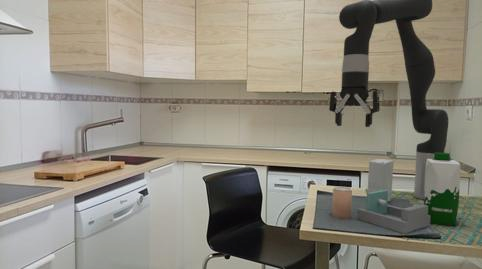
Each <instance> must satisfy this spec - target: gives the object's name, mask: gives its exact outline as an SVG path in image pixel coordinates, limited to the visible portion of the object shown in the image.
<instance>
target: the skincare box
mask: <svg viewBox="0 0 482 269" xmlns="http://www.w3.org/2000/svg"><path fill="white" fill-rule="evenodd" d="M394 162H395V161H394V160H392V159H383V158H376V159H372V160H370V161H368V176H367V177H368V178H367V190H366V191H367V192H366V194H367V193H370V192H375V191H381V190H388V201H387V203H389V202H390V201H391V200H392V193H393V192H392V189H393V178H394V177H393V175H394Z"/></svg>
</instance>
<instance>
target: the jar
mask: <svg viewBox="0 0 482 269" xmlns="http://www.w3.org/2000/svg"><path fill="white" fill-rule="evenodd" d="M352 199H353V190H352V189H351V187H347V186H334V188H333V189H332V202H331V203H332V206H331V216H332V217H333V218H336V219H343V220H347V219H351V218H352V206H353V205H352V204H353V203H352V202H353V201H352Z"/></svg>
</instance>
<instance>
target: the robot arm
mask: <svg viewBox="0 0 482 269" xmlns="http://www.w3.org/2000/svg"><path fill="white" fill-rule="evenodd" d="M432 10H433V0H362V1H358V2H353V3H349V4H347V5H345V6H344V7H342V9H341V10H340V12H339V16H338V20H339V23H340V24H341V26H342V27H343V28H344V29H347V30H352V29H355V31H354V32H353V33H352V34H350V35H348V36H347V37H346V38H345V39H344V42H343V43H344V44H343V59H342V66H341V67H342V68H341V90H340V91H339V92H337V91H331V92H330V98H329V109H328V110H329V111H330V112H333V113H334V114H335V116H334V117H335V120H334V123H335V125H336V126H338V127H342V123H343V122H342V120H343V118H342V117H343V114H342V112H343V111H344V109H346V108H347V107H354V106H355V107H360V106H361V107H362V109H363V110H364V111H365V125H364V126H365V128H369V127H371V126H372V124H373V114H374V113H377V112H379V111H380V92H379V91H377V90H373V91H369V74H370V73H369V72H370V60H369V54H370V52H369V50H370V41H371V37H372V34H373V31H374V28H375V26H376V25H379V24H385V23H388V22H392V21H395V24H396V28H397V30H398V34H399V39H400V42H401V47H402V52H403V59H404V66H405V72H406V78H407V83H408V87H409V88H408V89H409V94H410V106H411V120H412V126H413V129H414V130H415V132H417V133H418V134H423V135H425V134H426V135H430V137H429V139H428V140H425V141H424V142H420V143H418V144H417V145H416V153H415V155H416V156H415V171H414V172H415V173H414V189H413V190H414V191H413V197H414V198H417V199H419V200H424V188H425V173H426V162H427V159H434V153H436V152H440V153H445V150H446V145H447V137H448V131H449V115H448V112H447V111H446V110H444V109H437V108H436V109H435V108H433V109H430V108H429V109H428V108H427V102H426V101H427V100H426V99H427V98H426V97H427V93H428V91H429V88H430V87H431V85H432V84H433V81H434V78H435V76H436V66H435V61H434V55H433V53H432V52H431V50H430V49H429V48H428V47H427V45H425V43H424V42H423V41H422V40H421V39H420V38H419V37H418V35H417V34H416V32H415V29H414V27H413V22H414V21H418V20H422V19H424V18H426V17H428V16H429V15H430V14H431V13H432ZM412 21H413V22H412ZM369 96H370V99H371V100H372V107H370V104H369V102H367V99H368V98H369ZM339 98H341V99H342V100H340V101H341V102H339V104H338V106H337V100H338V99H339Z"/></svg>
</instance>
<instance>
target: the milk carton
mask: <svg viewBox="0 0 482 269" xmlns="http://www.w3.org/2000/svg"><path fill="white" fill-rule="evenodd" d="M450 156H451V155H450V153H449V152H444V153H440V152H436V153H434V159H427V162H426V173H425V188H424V199H423V205H427V206H428V215H430V216H431V217H430V224H435V225H441V226H442V225H443V226H445V225H446V226H453V227H456V226H457V225H456V224H457V220H458V219H457V218H458V210H459V205H460V204H459V202H460V188H461V185H460V184H461V165H462V164H461V163H460V162H459V161H457V160H455V159H450Z"/></svg>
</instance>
